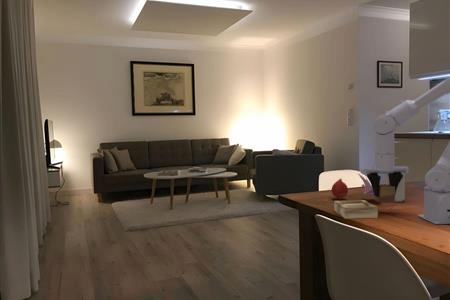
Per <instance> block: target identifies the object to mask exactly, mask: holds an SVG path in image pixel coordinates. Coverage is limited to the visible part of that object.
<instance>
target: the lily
mask: <svg viewBox="0 0 450 300" xmlns="http://www.w3.org/2000/svg"><path fill="white" fill-rule="evenodd" d="M357 175H358V176H359V178H360V179H361V180H362V181H363V184H361V187H362V188H363V189H364V190H363V191H364V192H363V194H362V195H361V197H360V198H359V200H362V198H363V197H364V195H365V194H367V195H371V196H372V197H373V198H374V192H373V188H372V185H371V183H370V181H369V179H367V178H364V176H362V175H361V173H360V174H359V173H358V174H357Z"/></svg>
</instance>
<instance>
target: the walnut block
mask: <svg viewBox="0 0 450 300" xmlns="http://www.w3.org/2000/svg"><path fill="white" fill-rule="evenodd" d="M373 199H374V201H375V202H378V203H380V204H391V203H393V204H394V203H396V202H395V187H394V186H391V185H388V184H387V185H386V184H380V185H379V197H376V196H374V197H373Z"/></svg>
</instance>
